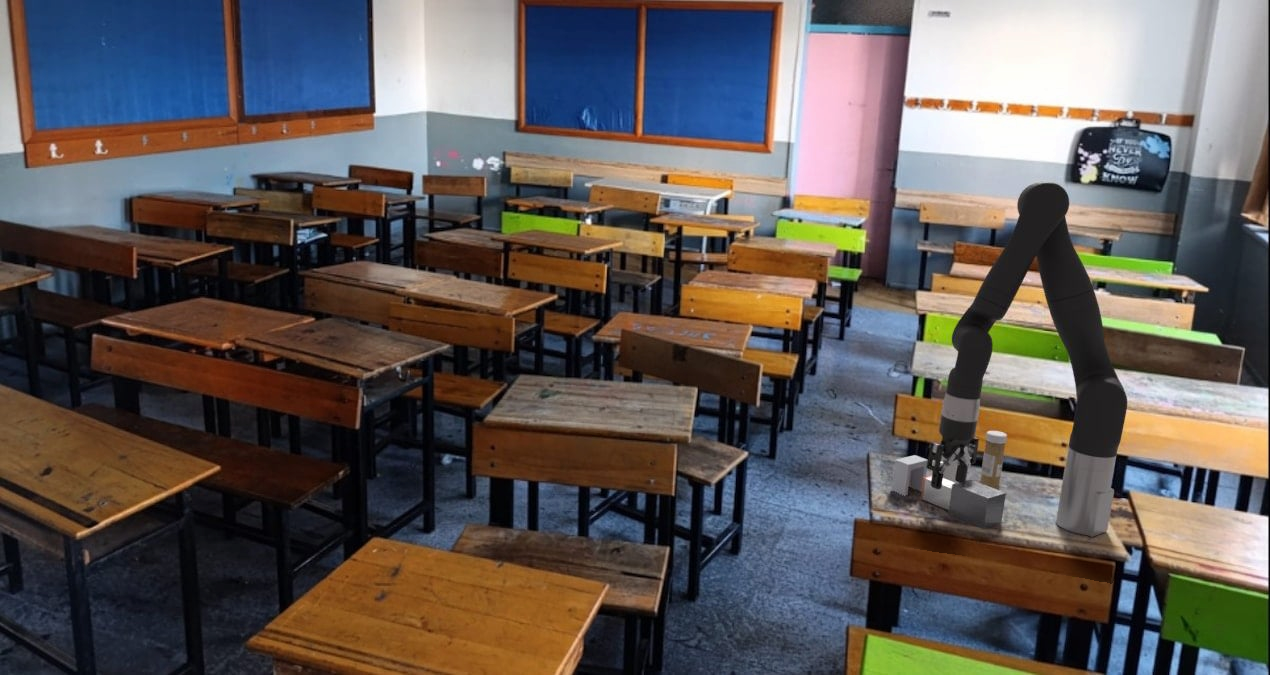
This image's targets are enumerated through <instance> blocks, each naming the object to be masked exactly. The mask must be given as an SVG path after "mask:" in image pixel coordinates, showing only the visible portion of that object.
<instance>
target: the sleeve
mask: <svg viewBox="0 0 1270 675" xmlns="http://www.w3.org/2000/svg"><path fill="white" fill-rule="evenodd" d="M955 483H956V484H952V491H951V498H950V505H949V510H948V514H947V515H949V516H952V517H953V518H957V519H959V520H961V521H964V522H967V523H969V524H971V525H974V526H976V527H979V528H981V529H984V530H985V529H987V528H990V527H993V526H996V525H999V524H1002V521H1003V513H1004V508H1005V503H1006V502H1005V501H1006V495H1007V492H1004V491H1002V490H999V489H998V490H997V489H994V488H991V487H989V486H986V485H983V484H981V483H980V482H978V481H975V480H973V479H966V481H963V482H955Z"/></svg>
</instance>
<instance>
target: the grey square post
mask: <svg viewBox="0 0 1270 675" xmlns="http://www.w3.org/2000/svg"><path fill="white" fill-rule="evenodd" d="M931 479H932V475H931V476H930V475H926V477H924V478H923V483H922V491H920V500H922V501H925V502H927V503H929V504H933V505H936V506H937V507H939V508H942V509H944V510H947V511H949V505H950V498H951V491H952V484H956V483H957V482H956V481H955V482H952V481H950V480H947V479H944V478H943V480H942V486H941V489H935V488H933V487H932V486H931V481H932V480H931Z"/></svg>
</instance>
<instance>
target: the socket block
mask: <svg viewBox="0 0 1270 675" xmlns="http://www.w3.org/2000/svg"><path fill="white" fill-rule="evenodd" d="M927 461H928V458H927V459H926V458H924V457H922V456H919V455H916V454H913V455H910V456H909V455H908V456H905V457H900V458H897V459H895V460H894V468H893V476H892V484H891V490H892V491H891V492H893V491H895V492H894V493H896V492H897V493H896V494H898V493H899V494H898V495H901V494H902V495H901V496H903V495H904V496H903V497H906V495H907V496H908V494H909V488H908V487H910V488H911V487H912V489H914V488H915V489H914V490H916V489H918V490H917V491H919V492H921V491H922V483H923V478H924V477H927V471H928V469H927V467H926V466H927Z"/></svg>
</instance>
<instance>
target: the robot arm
mask: <svg viewBox="0 0 1270 675" xmlns="http://www.w3.org/2000/svg"><path fill="white" fill-rule="evenodd" d="M1016 205H1017V206H1016V207H1017V212H1018V218H1017V222H1016V224H1015V227H1014V229H1013V232H1012V233H1011V236H1010V237H1009V239H1008V241H1007V243H1006V245H1005V246H1004V248H1003V250H1002V251H1001V253H1000V255H999V256H998V257H997V259H996V261H995V262H994V263H993V265H992V266H991V268H990V270H989V271H988V273H987V274H986V276H985V278H984V280H983V282H982V284H981V285H980V287H979V289H978V291H977V293H976V295H975V297H974V299H973V302H972V303H971V305H970V306H969V307H968V308H967V309H966V311H965V312H964V314H963V315H962V316H961V318H960V319H959V320H958V321H957V323H956V325H955V327H954V329H953V332H952V335H951V345H952V346H953V348H954V349H955V351H957V356H956V360H955V366H954V367H952V369H951V370H950V371H949V374H948V378H947V385H946V390H945V394H944V398H943V403H942V406H941V409H942V410H941V413H940V421H939V425H938V426H939V427H938V433H939V434H940V435H941V441H940V443H936V442H934V441H933V442H931V443H930V447H929V452H928V457H927V460H928V461H927V466H926V467H927V470H930V471H931V470H932V471H933V473H932V479H931V480H932V481H931V486H932V487H933V488H935V489H941V486H942V480H943V472H944V471H945V469H946V467H947V466H950V465H951V463H952V461H955V460H957V461H958V463H957V470H956V477H955V482H956V483H959V482H963V481H967V476H968V469H969V468H970V467H971V465H972V464H973V465H975V464H976V463H977V455H978V449H979V442H980V441H979V440H980V439H979V438H977V437H975V436H976V431H977V425H978V419H979V413H980V407H981V406H980V405H981V404H980V403H981V396H982V395H981V394H982V387H983V382H984V381H983V380H984V376H985V374H986V372H987V370H988V366H989V364H990V362H991V358H992V353H993V346H994V345H993V344H994V342H993V338H992V336H991V334H990V330H991V329H992V328H993V326H994V324H996V322H997V321H1000V320H1002V319H1003V318H1004V317H1005V316H1006V314H1007V312H1008V311H1009V308H1011V305H1012V303H1013V301H1014V299H1015V297H1016V295H1017V294H1018V291H1019V290H1020V287H1021V286H1022V283H1023V282H1024V280H1025V277H1026V275H1027V274H1028V272H1029V269H1030V267H1031V266H1032V264H1033V262H1034V261H1035V258H1036V262H1037V266H1038V272H1039V277H1040V280H1041V284H1042V285H1041V286H1042V288H1043V289H1042V290H1043V292H1044V296H1045V300H1046V303H1047V307H1048V310H1049V314H1050V316H1051V321H1052V322H1053V325H1054V326H1055V329H1056V332H1057V333H1058V336H1059V338H1060V340H1061V342H1062V344H1063V346H1064V348H1065V350H1066V353H1067V355H1068V357H1069V358H1068V359H1069V361H1070V365H1071V369H1072V373H1073V380H1074V383H1075V385H1074V386H1075V394H1076V408H1075V412H1074V413H1075V414H1074V418H1073V426H1072V430H1071V432H1070V436H1069V442H1068V449H1067V452H1066V460H1065V465H1064V466H1065V467H1064V470H1063V476H1062V483H1061V489H1060V495H1059V499H1058V500H1059V501H1058V506H1057V507H1058V508H1057V511H1056V518H1055V519H1056V520H1055V523H1056V524H1057V525H1058V526H1059V527H1061V529H1063V530H1067V531H1068V532H1071V533H1074V534H1075V533H1076V534H1078V535H1085V536H1089V537H1092V538H1093V537H1096V536H1099V535H1101V534H1103V533H1106V532H1108V528H1109V522H1110V517H1111V511H1112V505H1113V500H1114V495H1115V489H1114V488H1112V487H1111V486H1112V480H1113V475H1114V470H1115V464H1116V459H1117V454H1118V449H1119V446H1120V444H1121V440H1122V435H1123V432H1124V425H1125V421H1126V414H1127V410H1128V396H1127V393H1126V391H1125V388H1124V386H1123V384H1122V383H1121V380H1120V379H1119V377H1118V375H1117V372H1116V371H1115V368H1114V366H1113V363H1112V360H1111V358H1110V356H1109V353H1108V350H1107V347H1106V341H1105V334H1104V333H1105V332H1104V326H1103V320H1102V316H1101V310H1100V305H1099V301H1098V299H1097V295H1096V291H1095V289H1094V285H1093V283H1092V280H1091V278H1090V276H1089V274H1088V272H1087V269H1086V267H1085V266H1084V264H1083V261H1082V259H1081V258H1080V257H1079V254H1078V253H1077V251H1076V249H1075V246H1074V245H1073V242H1072V239H1071V236H1070V232H1069V228H1068V227H1069V226H1068V224H1067V219H1066V216H1067V214H1068V211H1069V209H1070V208H1069V207H1070V197H1069V194H1068V192H1067V191H1066V189H1065V188H1064V187H1063V186H1061V185H1060V184H1058V183H1055V182H1053V181H1041V182H1035V183H1031V184H1030V185H1028V186H1026V187H1025V188H1024V189H1023V190H1022V191H1021V193H1020V195H1019V197H1018V200H1017V204H1016ZM970 453H971V455H970ZM942 455H943V457H944V459H943V458H942ZM945 459H946V460H945ZM933 460H935V462H934V464H932V462H933ZM940 463H942V466H941V467H940Z"/></svg>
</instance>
